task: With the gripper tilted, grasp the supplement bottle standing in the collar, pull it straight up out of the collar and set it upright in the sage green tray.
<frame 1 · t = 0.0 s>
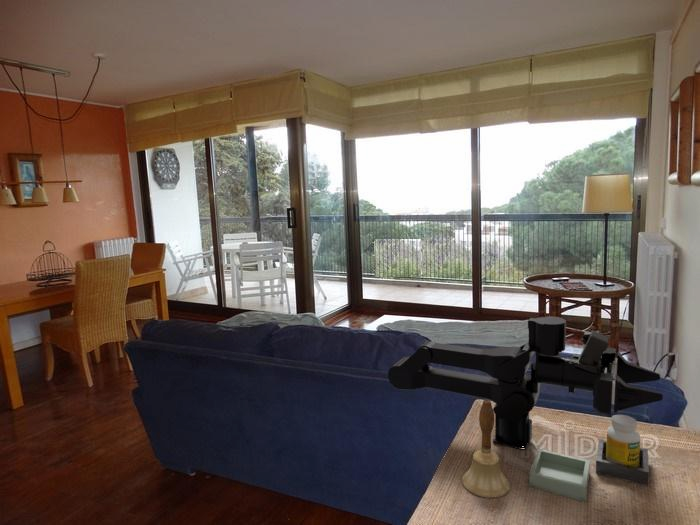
hand: (661, 386, 82), 17 cm above the table, tool horizontal, fingers open, 9 cm apart
collar: (621, 467, 87), on the table
supplement bottle: (621, 468, 87), resting in collar
hand bell: (485, 484, 84), on the table
tray: (559, 479, 84), on the table
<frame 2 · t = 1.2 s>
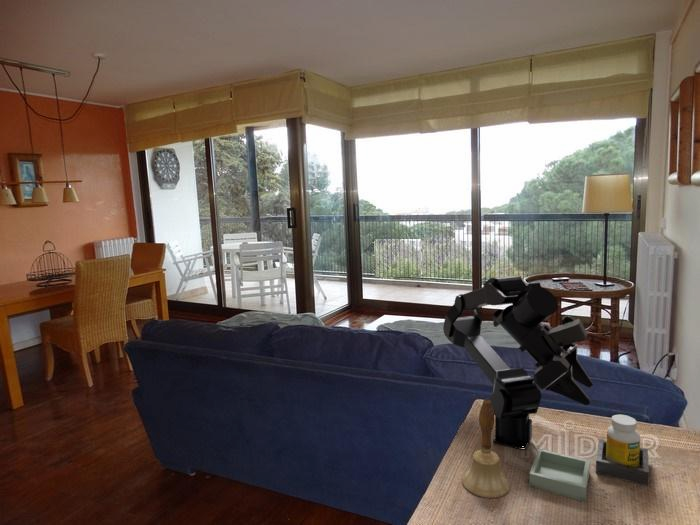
hand: (590, 394, 88), 13 cm above the table, tool tilted 45°, fingers open, 9 cm apart
nothing on the table moved.
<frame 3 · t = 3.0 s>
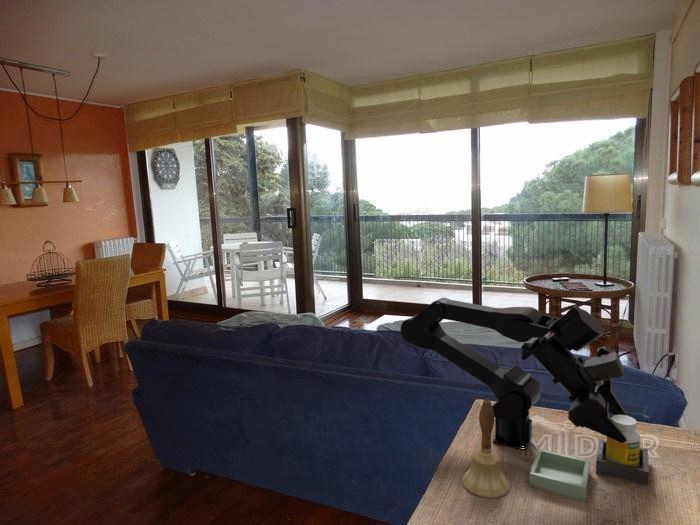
hand: (625, 429, 86), 8 cm above the table, tool tilted 45°, fingers open, 9 cm apart
nothing on the table moved.
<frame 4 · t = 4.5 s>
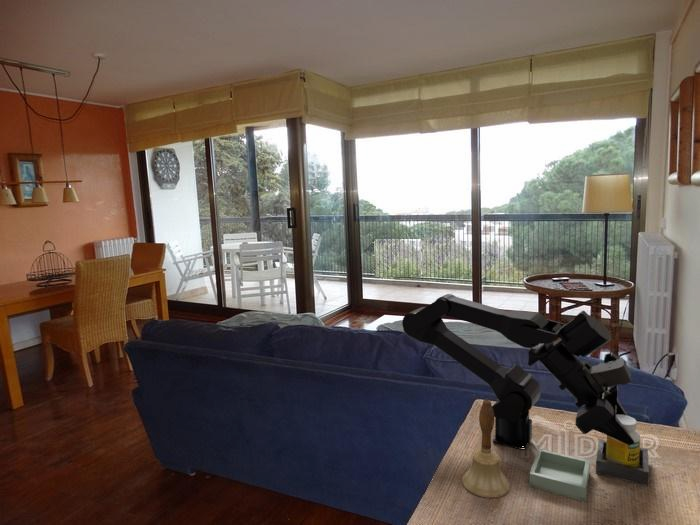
hand: (632, 436, 85), 7 cm above the table, tool tilted 45°, fingers closed on supplement bottle, 5 cm apart
supplement bottle: (621, 468, 87), resting in collar, touching gripper
everything else where it was.
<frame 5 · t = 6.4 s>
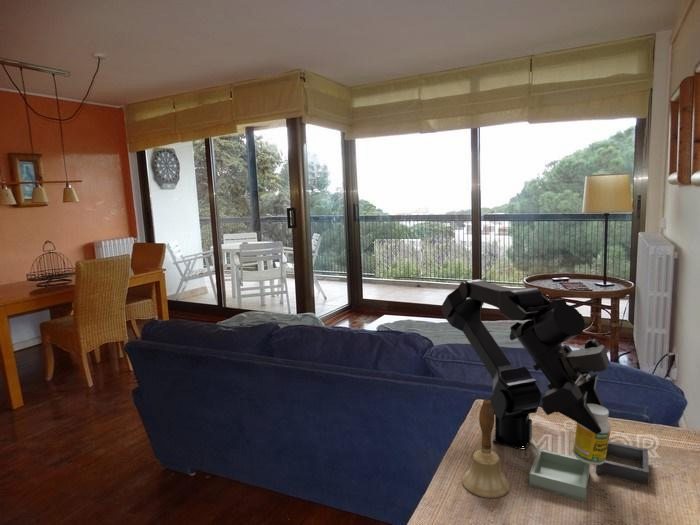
hand: (602, 425, 82), 10 cm above the table, tool tilted 40°, fingers closed on supplement bottle, 5 cm apart
supplement bottle: (588, 457, 85), point 3 cm above the table, touching gripper
everything else where it was.
when the fingers open (8 cm above the table, at t = 8.6 s): supplement bottle stays where it is, resting on tray.
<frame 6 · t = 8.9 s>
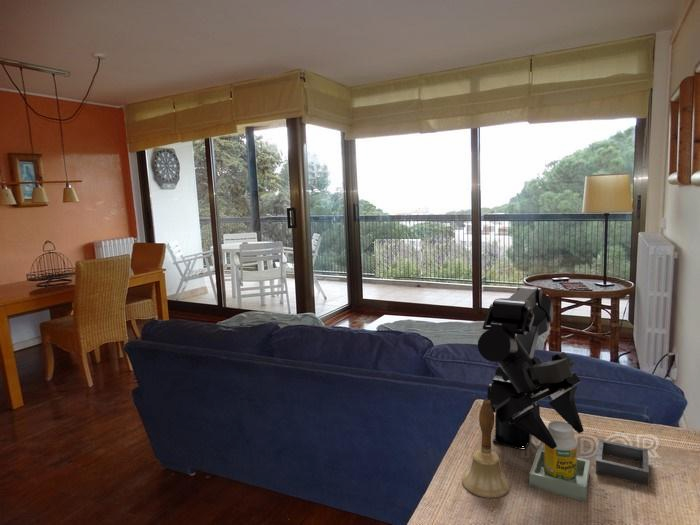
hand: (568, 439, 82), 8 cm above the table, tool tilted 45°, fingers open, 8 cm apart
supplement bottle: (560, 476, 84), resting on tray
everything else where it was.
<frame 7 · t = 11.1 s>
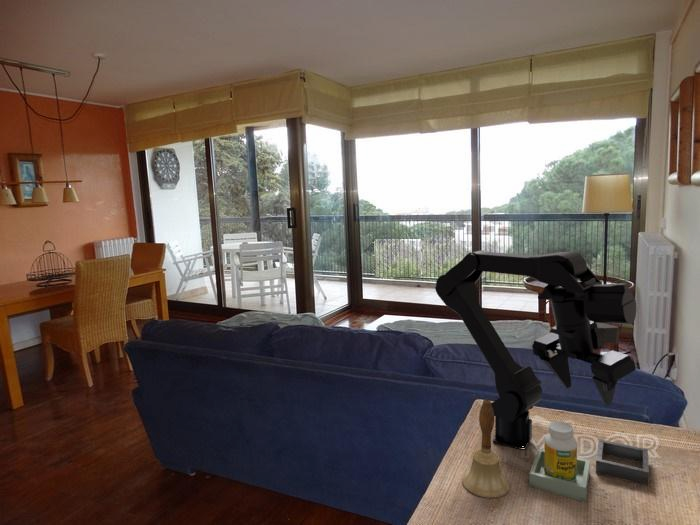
hand: (587, 395, 88), 13 cm above the table, tool pointing down, fingers open, 9 cm apart
nothing on the table moved.
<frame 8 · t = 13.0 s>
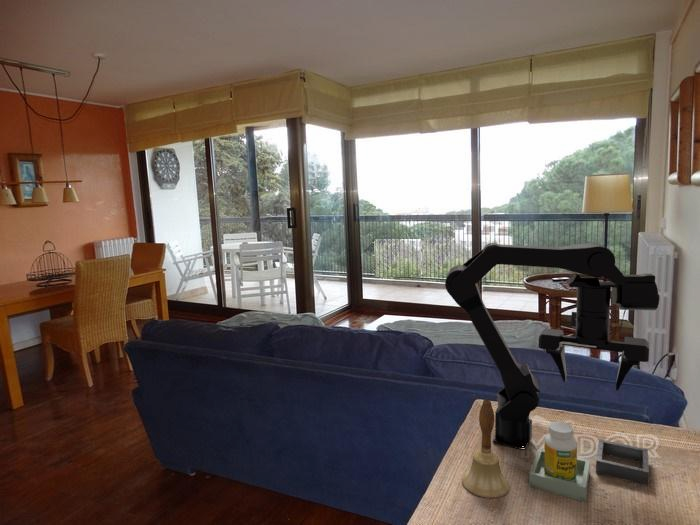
hand: (590, 385, 92), 13 cm above the table, tool pointing down, fingers open, 9 cm apart
nothing on the table moved.
at the end: supplement bottle 0.2 cm off-centre on the tray, point 0.4 cm above the tray's base; supplement bottle tilted 0°; the gripper is holding nothing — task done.
